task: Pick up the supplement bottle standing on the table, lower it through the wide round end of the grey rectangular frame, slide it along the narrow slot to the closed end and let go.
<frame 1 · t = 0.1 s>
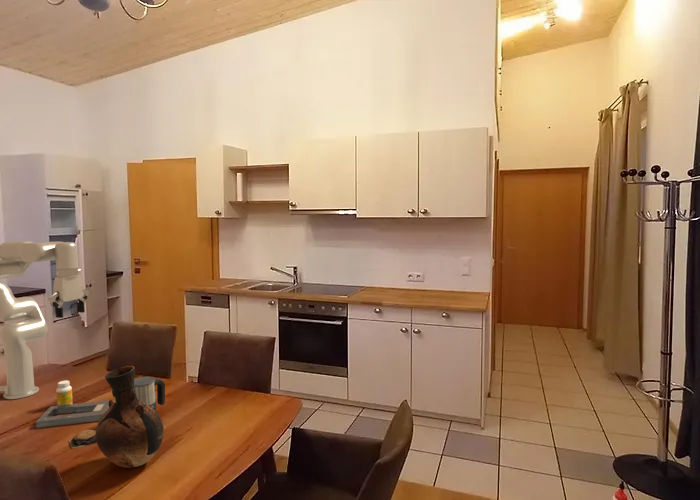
hand: (70, 314, 185), 37 cm above the table, tool pointing down, fingers open, 9 cm apart
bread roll: (87, 442, 157), on the table
ceramic vessel: (131, 463, 142), on the table
milk frother: (140, 415, 176), on the table
supplement bottle: (65, 405, 187), on the table
grey rectangular frame: (76, 416, 176), on the table
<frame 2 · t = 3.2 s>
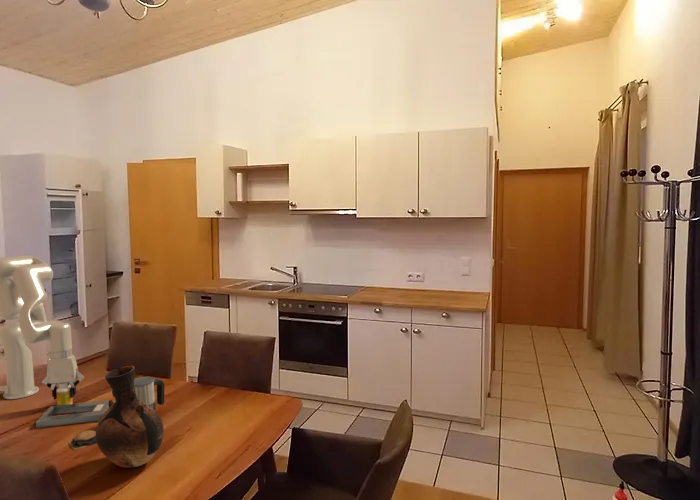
hand: (64, 396, 187), 4 cm above the table, tool pointing down, fingers closed on supplement bottle, 5 cm apart
supplement bottle: (65, 405, 187), on the table, touching gripper
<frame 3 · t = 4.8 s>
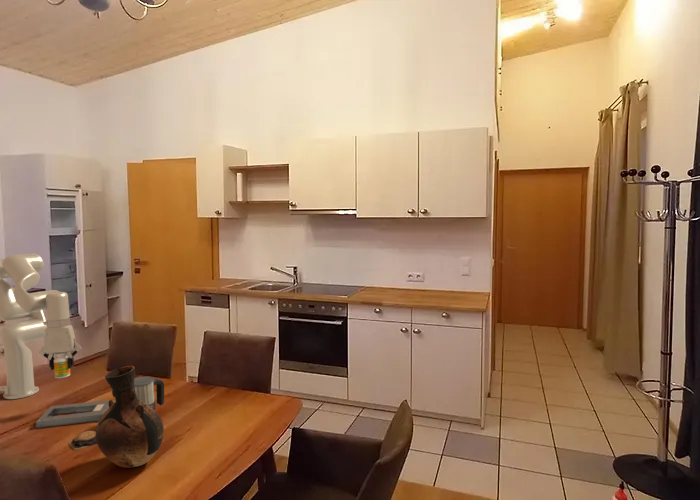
hand: (62, 367, 182), 17 cm above the table, tool pointing down, fingers closed on supplement bottle, 5 cm apart
supplement bottle: (62, 376, 183), point 13 cm above the table, touching gripper
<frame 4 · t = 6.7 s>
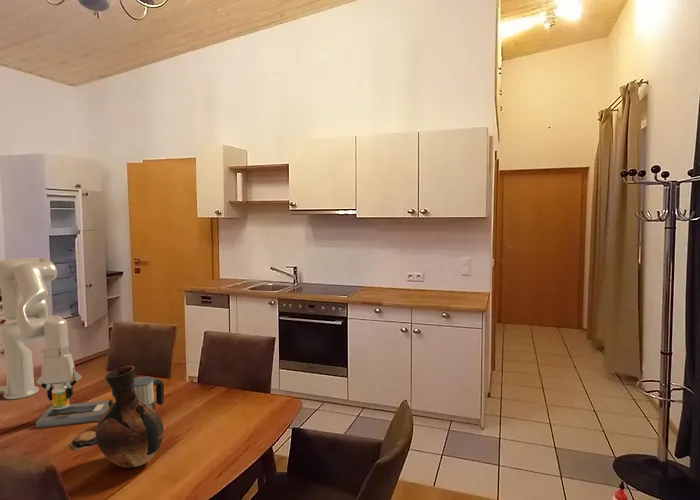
hand: (60, 397, 174), 8 cm above the table, tool pointing down, fingers closed on supplement bottle, 5 cm apart
supplement bottle: (61, 407, 175), point 4 cm above the table, touching gripper
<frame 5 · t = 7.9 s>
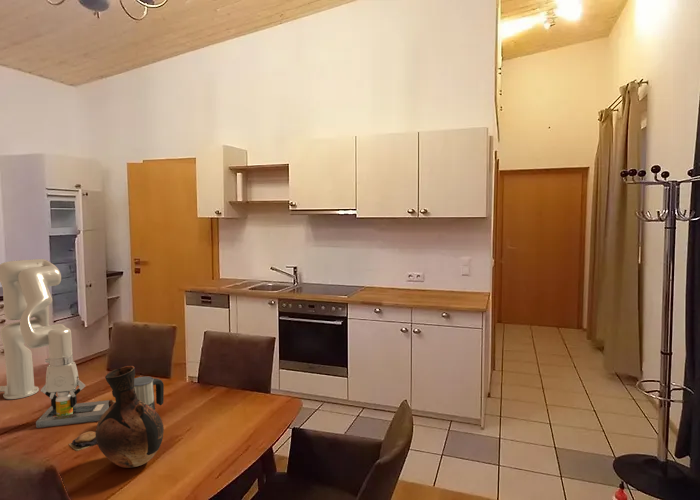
hand: (64, 406, 175), 4 cm above the table, tool pointing down, fingers closed on supplement bottle, 5 cm apart
supplement bottle: (64, 415, 175), point 1 cm above the table, touching gripper
when the fingers open (4 cm above the table, at t = 10.5 s): supplement bottle stays where it is, on the table.
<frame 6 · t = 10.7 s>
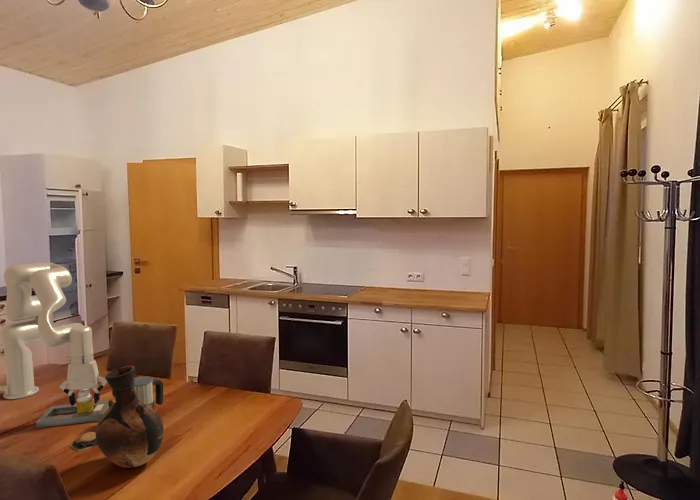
hand: (85, 403, 177), 5 cm above the table, tool pointing down, fingers open, 7 cm apart
supplement bottle: (85, 415, 177), on the table
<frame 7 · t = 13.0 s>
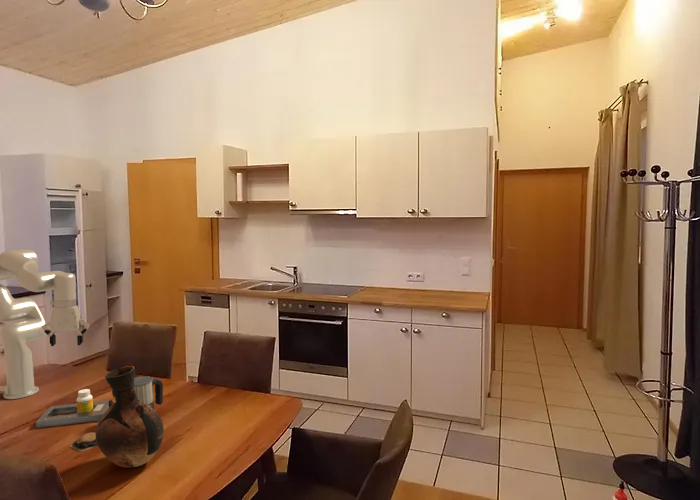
hand: (66, 344, 187), 25 cm above the table, tool pointing down, fingers open, 9 cm apart
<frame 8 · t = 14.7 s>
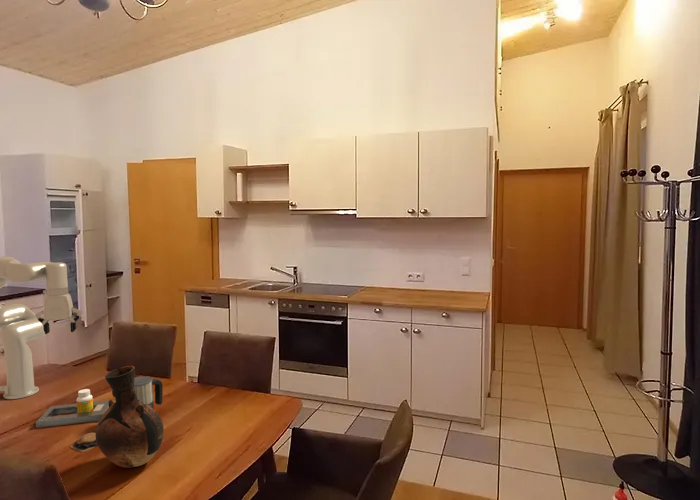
hand: (60, 332, 192), 28 cm above the table, tool pointing down, fingers open, 9 cm apart
at the end: supplement bottle 0.6 cm from the target spot on the grey rectangular frame, point 0.0 cm above the grey rectangular frame's base; supplement bottle tilted 0°; the gripper is holding nothing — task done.
